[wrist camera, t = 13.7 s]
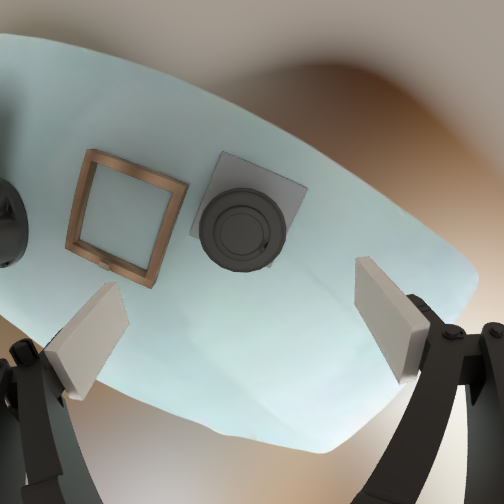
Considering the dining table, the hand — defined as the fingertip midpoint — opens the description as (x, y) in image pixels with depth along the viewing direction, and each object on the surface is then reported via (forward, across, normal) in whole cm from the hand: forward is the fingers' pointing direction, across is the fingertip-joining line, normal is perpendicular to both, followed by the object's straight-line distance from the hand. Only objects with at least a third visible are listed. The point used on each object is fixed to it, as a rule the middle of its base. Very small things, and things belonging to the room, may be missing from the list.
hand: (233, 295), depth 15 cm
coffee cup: (+22, 0, 0) cm, 22 cm away
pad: (+22, 0, 0) cm, 22 cm away
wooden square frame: (+22, -16, +1) cm, 28 cm away
